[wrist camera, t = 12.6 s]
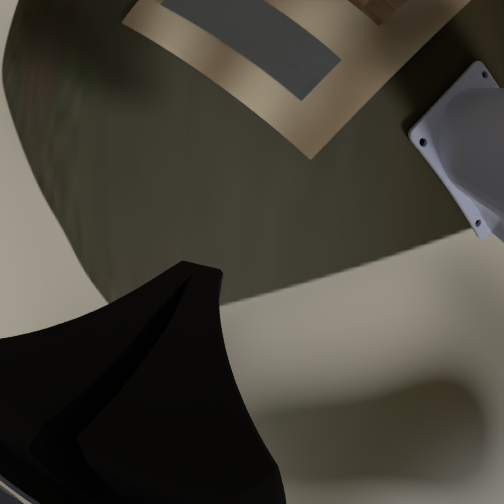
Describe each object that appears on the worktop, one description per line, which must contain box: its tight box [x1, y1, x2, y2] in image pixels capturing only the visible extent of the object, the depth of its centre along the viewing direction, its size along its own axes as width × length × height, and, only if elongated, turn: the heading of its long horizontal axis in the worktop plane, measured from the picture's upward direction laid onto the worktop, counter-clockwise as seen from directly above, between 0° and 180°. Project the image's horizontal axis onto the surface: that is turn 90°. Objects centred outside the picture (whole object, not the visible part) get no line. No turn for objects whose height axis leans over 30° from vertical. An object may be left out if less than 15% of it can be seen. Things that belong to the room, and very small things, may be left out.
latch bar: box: [160, 0, 342, 101], centre depth 11 cm, size 9×3×1 cm, turn 50°
